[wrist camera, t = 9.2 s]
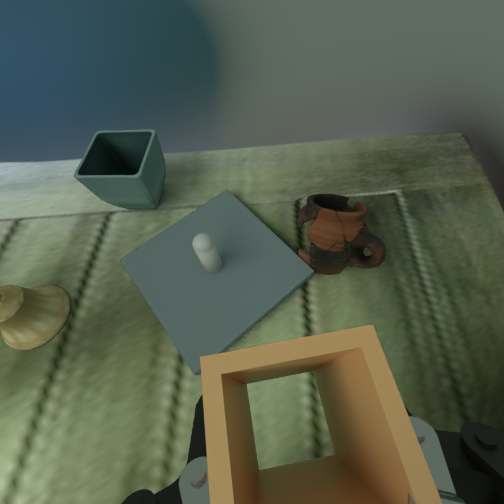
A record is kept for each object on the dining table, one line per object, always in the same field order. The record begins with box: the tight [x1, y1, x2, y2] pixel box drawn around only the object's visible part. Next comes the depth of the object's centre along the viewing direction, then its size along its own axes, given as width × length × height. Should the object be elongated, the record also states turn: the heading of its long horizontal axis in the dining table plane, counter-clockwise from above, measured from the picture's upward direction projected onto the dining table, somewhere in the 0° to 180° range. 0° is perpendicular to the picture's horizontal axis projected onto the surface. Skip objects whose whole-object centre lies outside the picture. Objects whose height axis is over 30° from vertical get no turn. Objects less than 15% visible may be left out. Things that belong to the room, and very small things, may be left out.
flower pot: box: [74, 129, 165, 209], centre depth 38 cm, size 9×9×9 cm
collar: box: [200, 324, 443, 504], centre depth 11 cm, size 6×6×10 cm
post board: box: [120, 190, 314, 375], centre depth 31 cm, size 18×18×8 cm
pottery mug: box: [297, 194, 386, 275], centre depth 33 cm, size 12×10×8 cm
